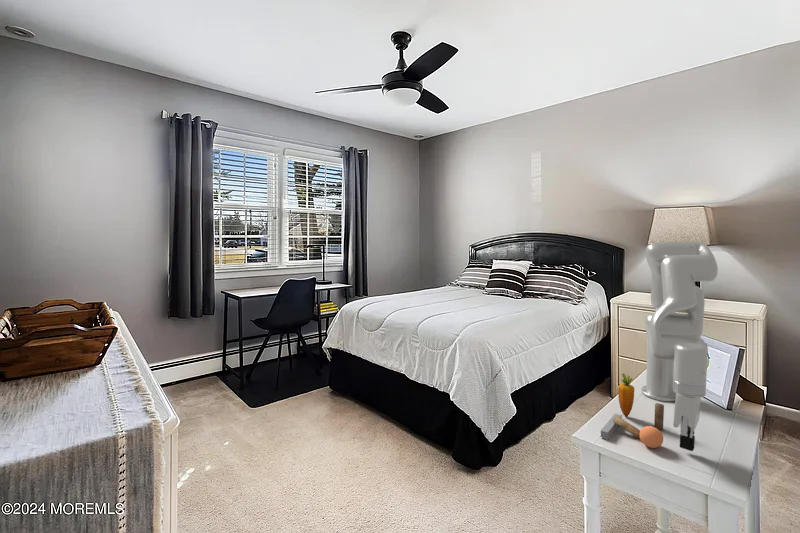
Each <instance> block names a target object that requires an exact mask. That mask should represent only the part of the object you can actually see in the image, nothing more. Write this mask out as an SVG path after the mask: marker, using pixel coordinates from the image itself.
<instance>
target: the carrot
mask: <svg viewBox="0 0 800 533" xmlns="http://www.w3.org/2000/svg"><path fill="white" fill-rule="evenodd" d="M621 376H622V378H621V379H620V380H621V382H622V383H620V384H619V385H618V390H617V392H618V393H617V394H618V403H619V408H620V410H621V412H622V415H623V416H624V417H626V418H627V417H628V416H629V415H630V414H631V412H632V409H633V407H634V406H633V405H634V400H635V386H634V385H632V384H631V382H632V380H633V378H632V377H630V375H627V376H626V375H625V373H624V372H623V373H621Z"/></svg>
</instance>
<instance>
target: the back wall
mask: <svg viewBox="0 0 800 533" xmlns="http://www.w3.org/2000/svg"><path fill="white" fill-rule="evenodd" d="M616 415H617V416H619V417H620V418H622V419H623V416H622V415H623V414H618V413H614V414H612V417H611V418H610V419H609V420H608V421H607V423H605V425H604V426H603V427H602V428H601V430H600V438H601V437H602V438H604V439H603V440H605V439H607V440H606V441H608V440H609V439H610V438H611V437H612V435H613V434H614V433H615V431H617V429H618V428H619V427H620V426H619V425H617V424H616V423H614V422H613V419H614V417H615V416H616ZM610 436H611V437H610ZM609 437H610V438H609ZM602 438H601V439H602Z"/></svg>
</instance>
